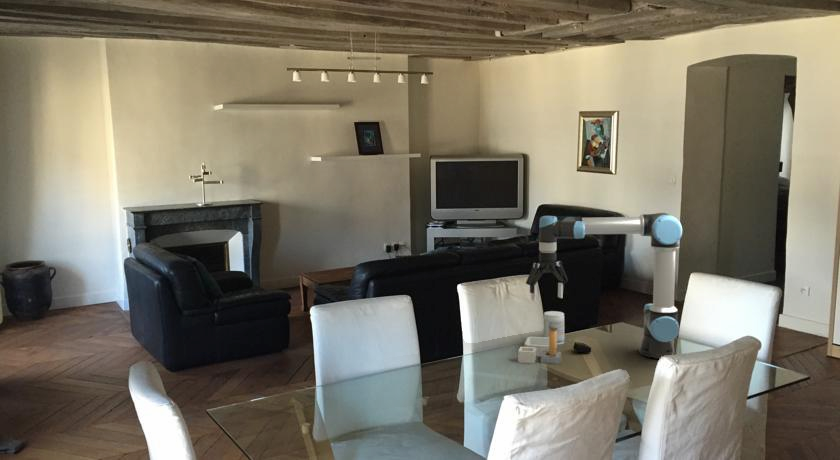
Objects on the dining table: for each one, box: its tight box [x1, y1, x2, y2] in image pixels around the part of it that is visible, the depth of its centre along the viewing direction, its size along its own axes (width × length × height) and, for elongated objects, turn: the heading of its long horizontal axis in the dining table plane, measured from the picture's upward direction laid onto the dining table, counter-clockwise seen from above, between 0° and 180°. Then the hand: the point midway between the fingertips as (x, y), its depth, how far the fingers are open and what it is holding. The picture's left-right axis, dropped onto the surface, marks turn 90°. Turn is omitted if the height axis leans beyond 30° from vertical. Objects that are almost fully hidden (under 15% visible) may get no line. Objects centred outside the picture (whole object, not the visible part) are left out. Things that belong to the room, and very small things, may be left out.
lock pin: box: [548, 324, 558, 356], centre depth 311 cm, size 4×4×16 cm
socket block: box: [517, 346, 537, 364], centre depth 314 cm, size 7×7×5 cm
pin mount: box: [540, 351, 562, 365], centre depth 313 cm, size 8×8×3 cm
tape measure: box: [573, 341, 592, 354], centre depth 324 cm, size 7×7×4 cm
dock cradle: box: [523, 335, 558, 357], centre depth 326 cm, size 13×14×5 cm
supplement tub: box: [543, 310, 565, 345], centre depth 338 cm, size 10×10×15 cm
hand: (547, 299), depth 318 cm, fingers open, 13 cm apart
